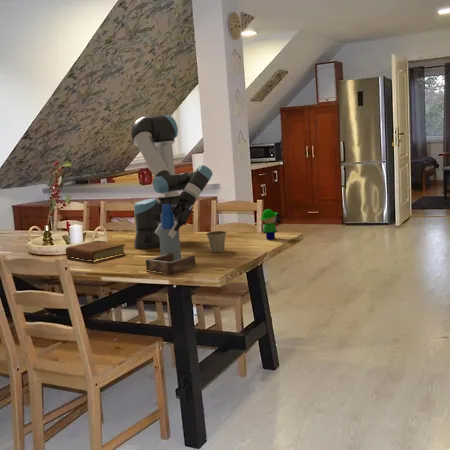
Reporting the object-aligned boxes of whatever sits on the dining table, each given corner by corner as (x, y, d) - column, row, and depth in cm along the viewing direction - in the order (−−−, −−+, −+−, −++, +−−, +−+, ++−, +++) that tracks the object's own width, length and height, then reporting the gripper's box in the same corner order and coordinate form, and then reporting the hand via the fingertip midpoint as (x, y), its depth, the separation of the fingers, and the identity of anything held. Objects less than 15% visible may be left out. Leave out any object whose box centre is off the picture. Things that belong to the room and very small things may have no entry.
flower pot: (230, 248, 283) (229, 230, 281) (224, 253, 274) (222, 234, 272) (211, 249, 286) (210, 231, 284) (204, 253, 277) (203, 234, 276)
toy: (282, 238, 296) (280, 208, 294) (266, 241, 293) (264, 211, 291) (274, 236, 304) (272, 207, 302) (258, 238, 301) (256, 209, 299)
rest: (146, 271, 250) (145, 259, 250) (171, 263, 261) (170, 252, 260) (171, 274, 240) (170, 263, 240) (195, 267, 250) (194, 255, 250)
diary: (66, 259, 292) (65, 247, 292) (98, 251, 306) (97, 240, 305) (93, 263, 276) (91, 251, 276) (126, 255, 290) (124, 243, 289)
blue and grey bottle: (161, 262, 264) (155, 206, 260) (161, 258, 273) (156, 204, 269) (181, 260, 265) (176, 204, 261) (181, 256, 274) (176, 202, 270)
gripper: (209, 201, 265) (183, 242, 259) (180, 199, 283) (155, 237, 277) (198, 191, 261) (172, 232, 255) (170, 189, 279) (144, 228, 273)
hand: (163, 235), depth 266 cm, fingers open, 10 cm apart
